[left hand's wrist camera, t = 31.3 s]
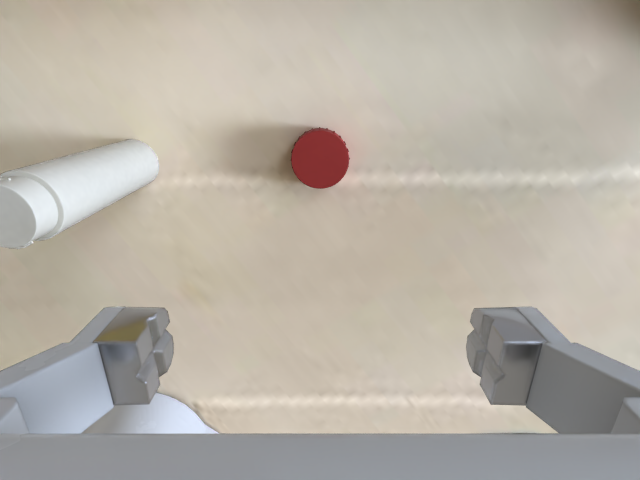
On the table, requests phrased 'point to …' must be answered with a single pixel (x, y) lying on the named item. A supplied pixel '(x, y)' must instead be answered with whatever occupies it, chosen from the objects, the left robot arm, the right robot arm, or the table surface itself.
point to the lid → (320, 158)
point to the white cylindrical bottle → (70, 189)
